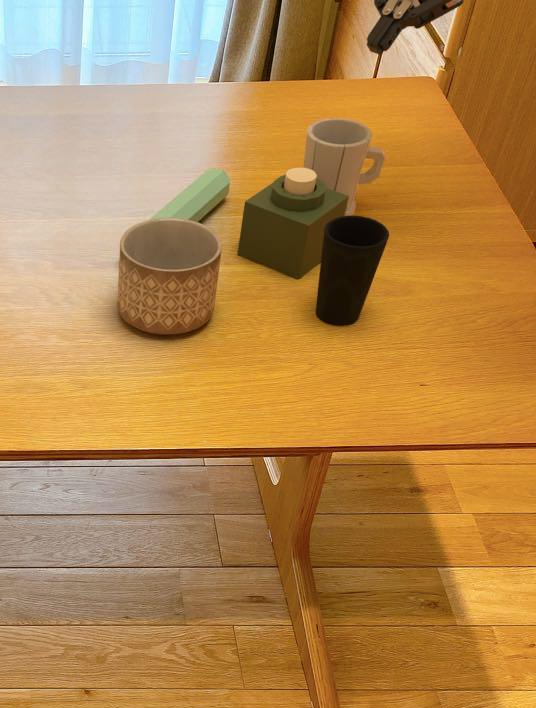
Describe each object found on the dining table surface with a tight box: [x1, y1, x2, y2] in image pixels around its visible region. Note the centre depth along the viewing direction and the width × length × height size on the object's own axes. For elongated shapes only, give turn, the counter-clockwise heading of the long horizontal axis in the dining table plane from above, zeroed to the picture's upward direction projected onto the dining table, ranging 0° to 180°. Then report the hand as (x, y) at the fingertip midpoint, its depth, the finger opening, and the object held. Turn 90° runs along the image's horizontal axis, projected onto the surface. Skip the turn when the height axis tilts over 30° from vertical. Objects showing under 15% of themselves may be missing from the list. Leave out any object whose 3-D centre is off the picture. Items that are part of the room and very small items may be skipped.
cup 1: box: [302, 117, 386, 216], centre depth 147 cm, size 10×9×12 cm
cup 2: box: [314, 215, 390, 327], centre depth 129 cm, size 8×8×12 cm
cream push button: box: [284, 167, 317, 195], centre depth 136 cm, size 4×4×2 cm
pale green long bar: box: [149, 167, 231, 223], centre depth 147 cm, size 6×6×25 cm
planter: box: [116, 218, 223, 335], centre depth 131 cm, size 13×13×10 cm
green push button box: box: [237, 173, 349, 280], centre depth 140 cm, size 10×10×10 cm
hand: (373, 49), depth 127 cm, fingers closed
